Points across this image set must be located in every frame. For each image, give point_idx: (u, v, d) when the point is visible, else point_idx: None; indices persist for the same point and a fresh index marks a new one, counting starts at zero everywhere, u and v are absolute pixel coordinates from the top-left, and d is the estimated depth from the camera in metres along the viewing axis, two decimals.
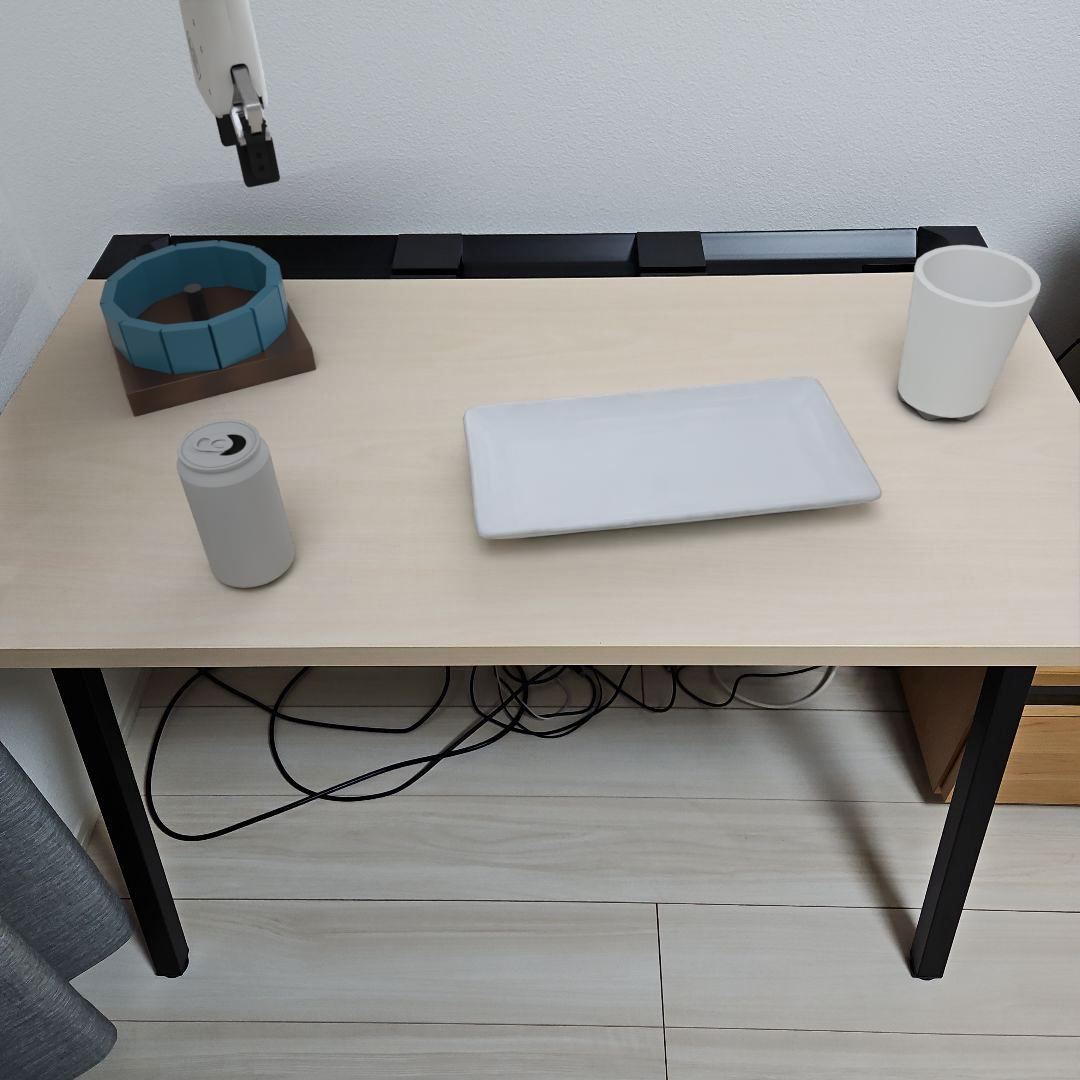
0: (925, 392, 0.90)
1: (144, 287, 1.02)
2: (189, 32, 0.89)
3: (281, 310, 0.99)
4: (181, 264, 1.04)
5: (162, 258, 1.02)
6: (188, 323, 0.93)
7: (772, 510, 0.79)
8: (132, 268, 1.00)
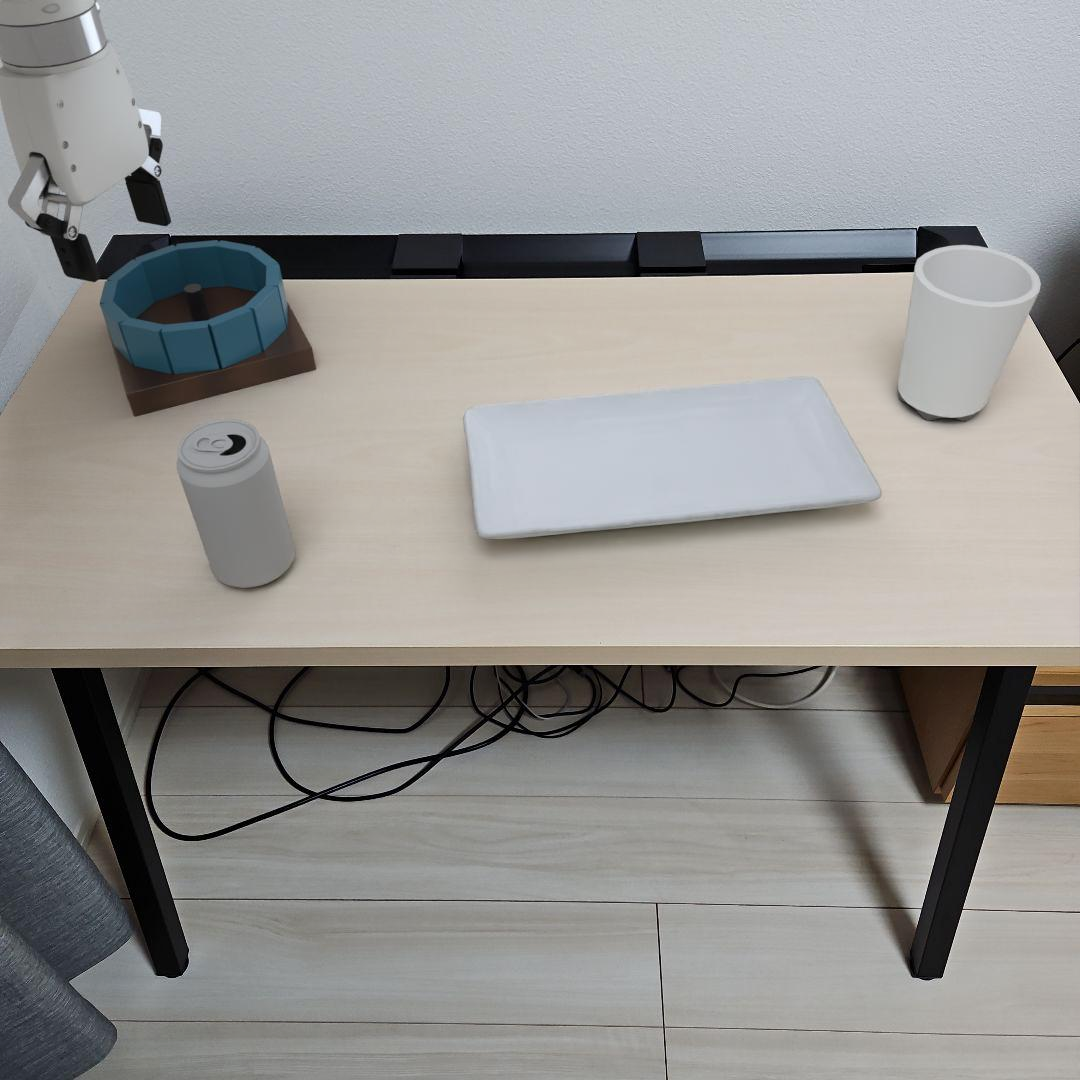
0: (925, 392, 0.90)
1: (144, 287, 1.02)
2: None
3: (281, 310, 0.99)
4: (181, 264, 1.04)
5: (162, 258, 1.02)
6: (188, 323, 0.93)
7: (772, 510, 0.79)
8: (132, 268, 1.00)
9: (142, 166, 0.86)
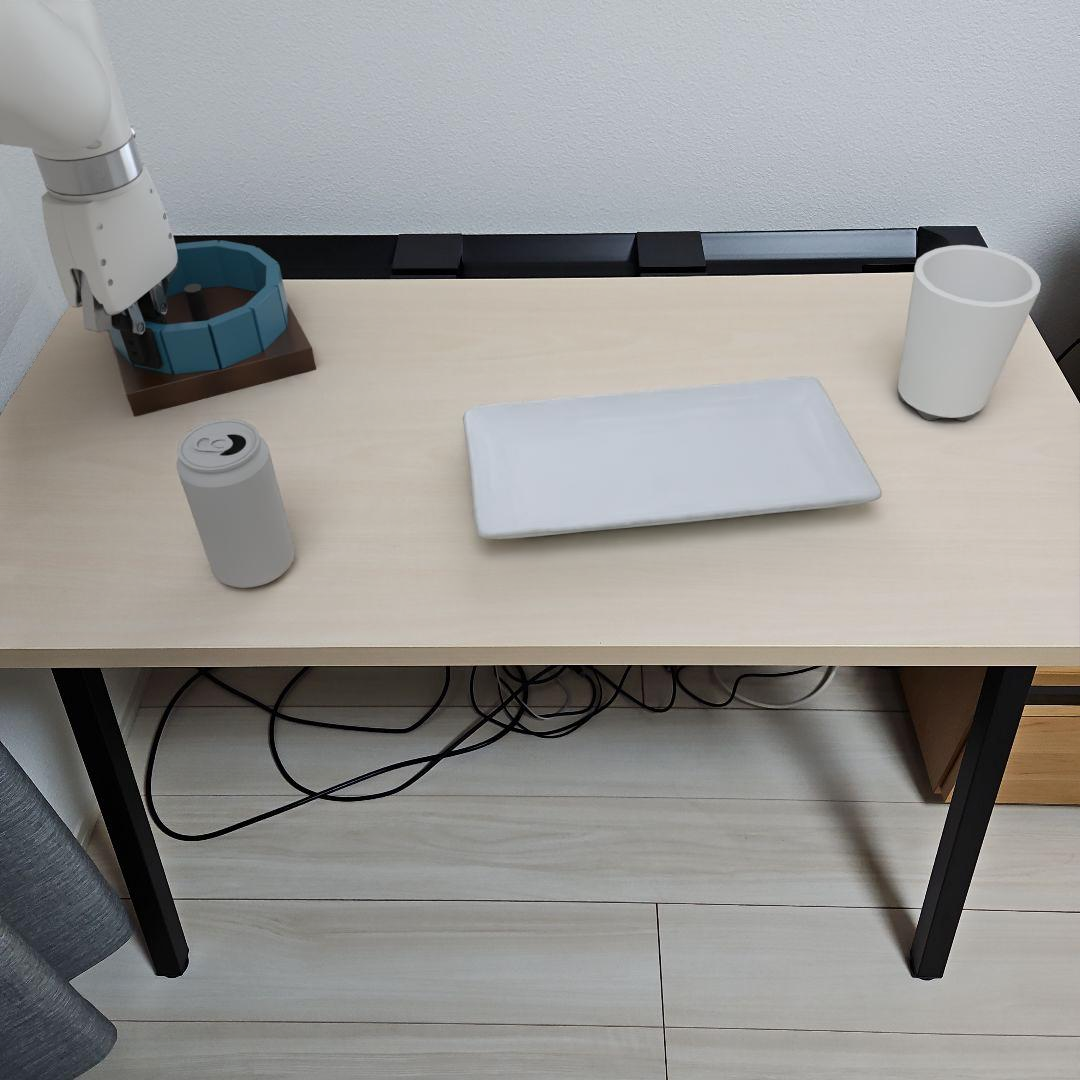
0: (925, 392, 0.90)
1: None
2: None
3: (281, 310, 0.99)
4: (181, 264, 1.04)
5: None
6: (188, 323, 0.93)
7: (772, 510, 0.79)
8: None
9: (155, 291, 0.91)
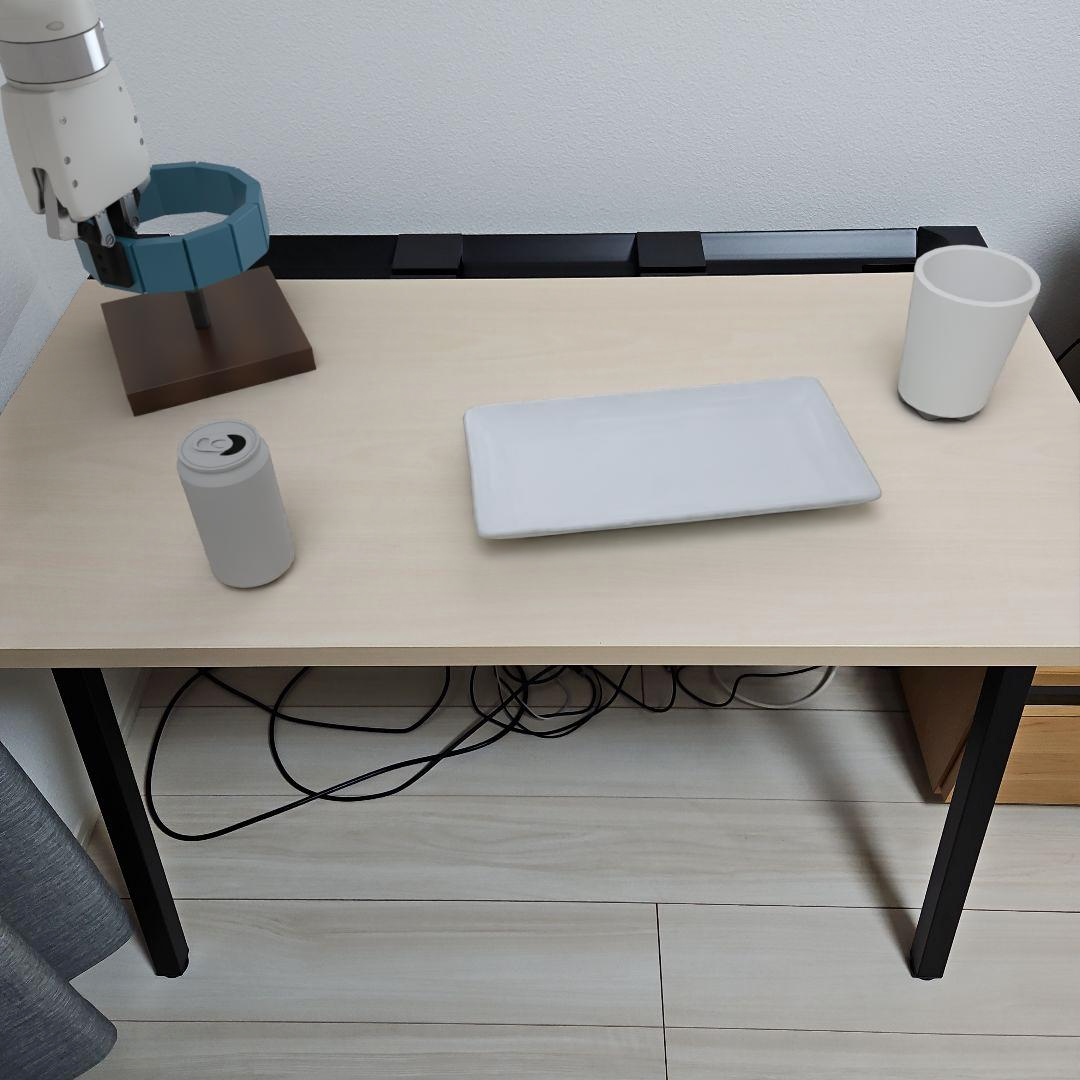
0: (925, 392, 0.90)
1: None
2: None
3: (262, 230, 0.93)
4: (157, 187, 0.98)
5: None
6: (161, 238, 0.87)
7: (772, 510, 0.79)
8: None
9: (125, 202, 0.85)
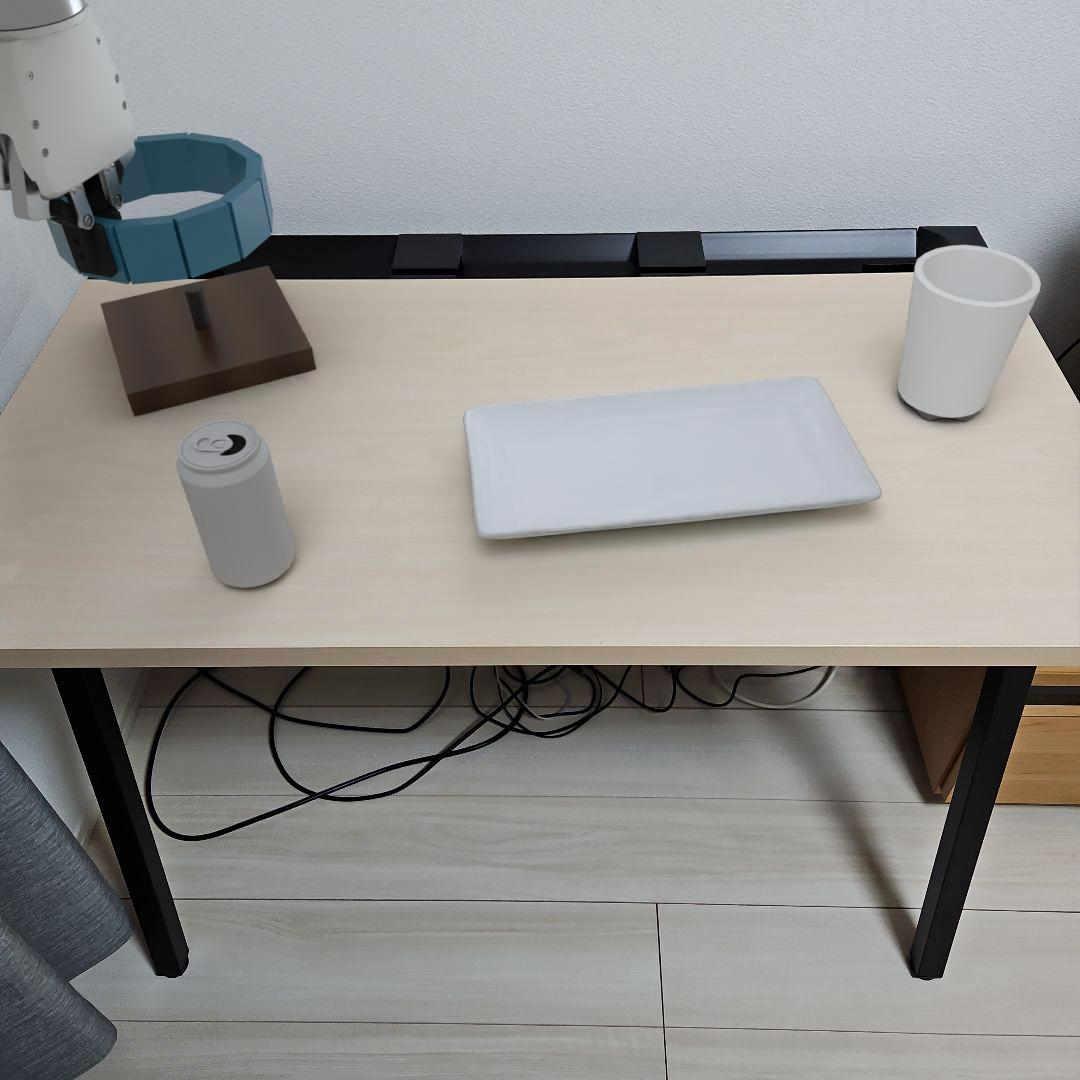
0: (925, 392, 0.90)
1: None
2: None
3: (265, 210, 0.81)
4: (143, 162, 0.86)
5: None
6: (148, 218, 0.75)
7: (772, 510, 0.79)
8: None
9: (106, 176, 0.73)
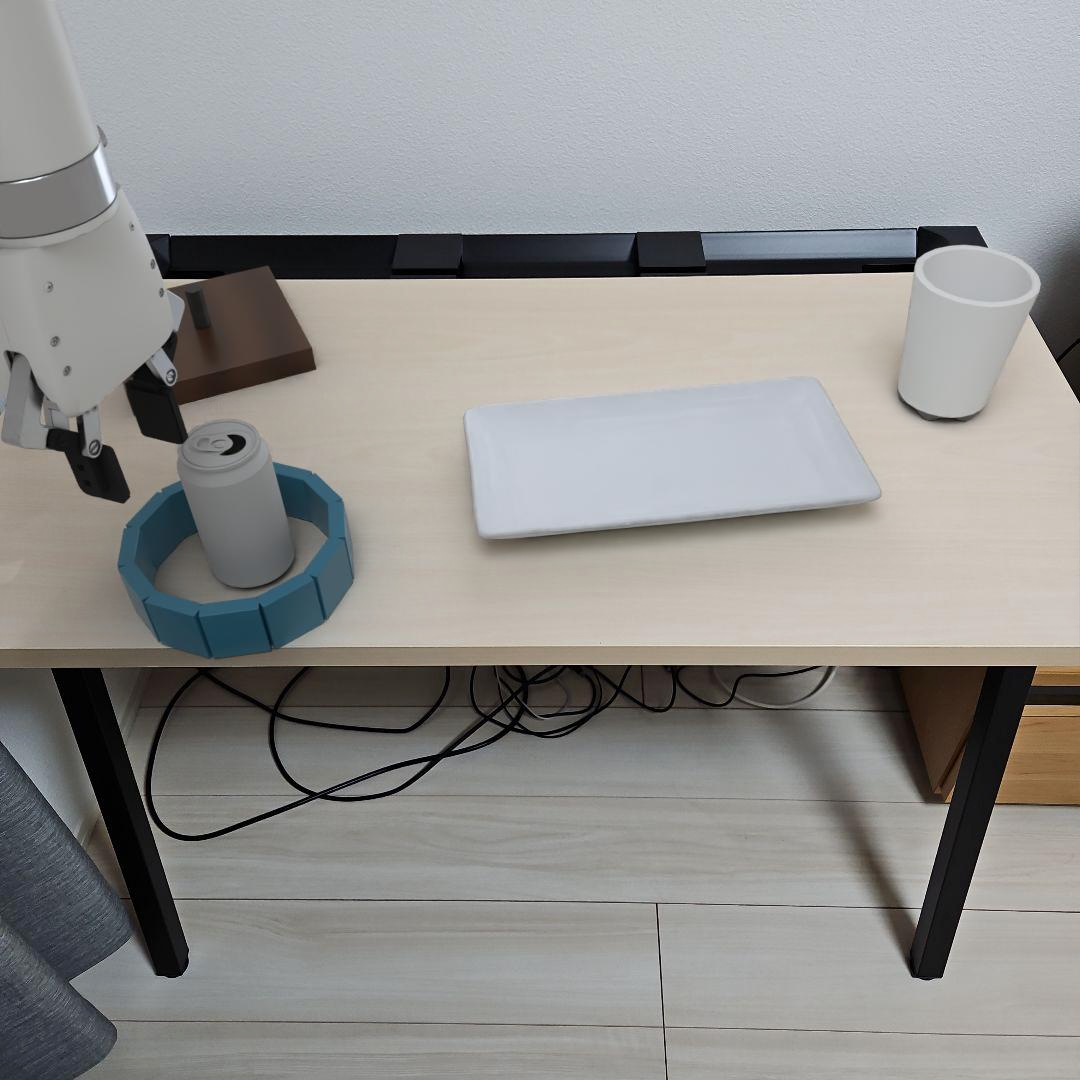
0: (925, 392, 0.90)
1: (172, 524, 0.81)
2: None
3: (348, 564, 0.78)
4: None
5: None
6: (233, 602, 0.72)
7: (772, 510, 0.79)
8: (158, 507, 0.79)
9: (153, 363, 0.62)
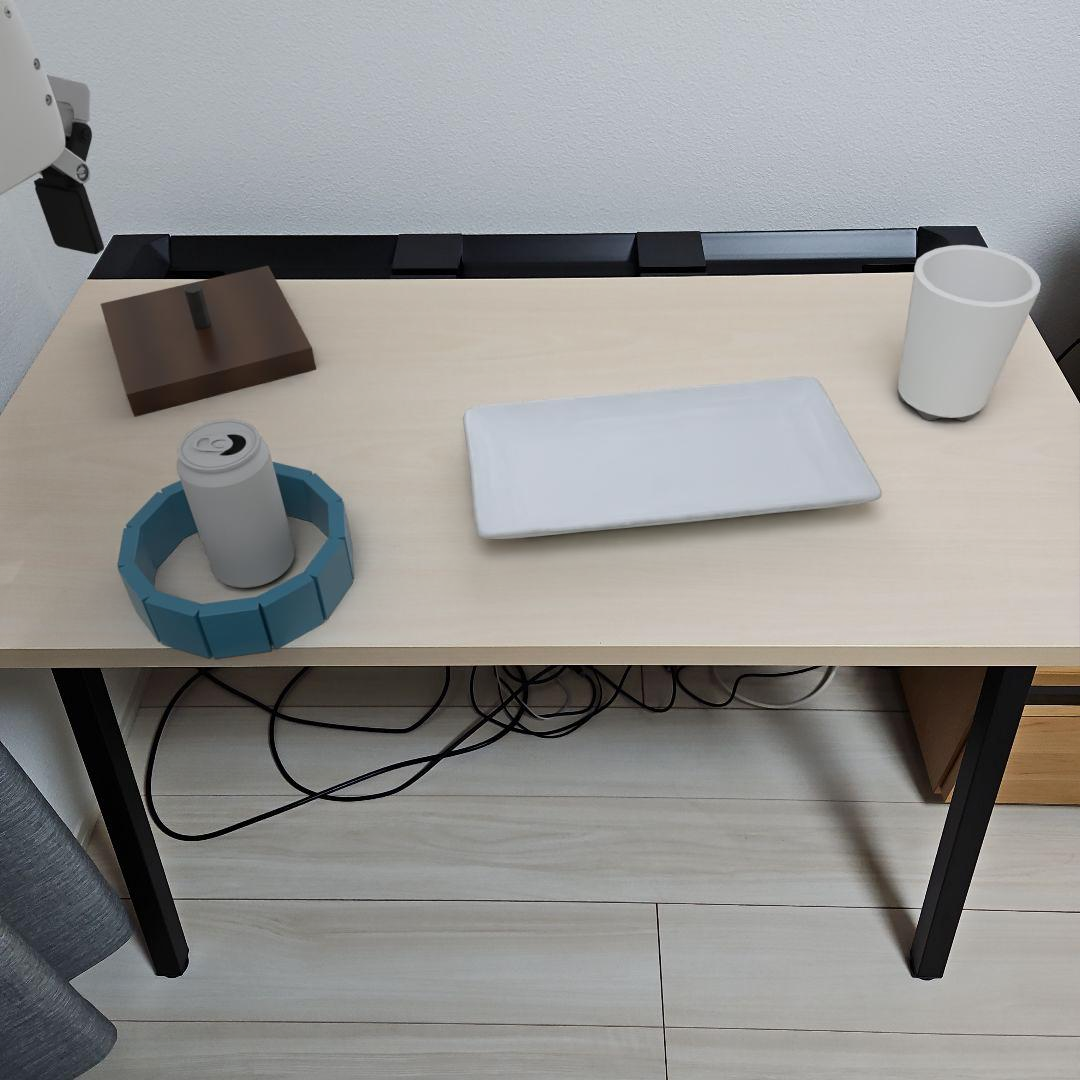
0: (925, 392, 0.90)
1: (172, 524, 0.81)
2: None
3: (348, 564, 0.78)
4: None
5: None
6: (233, 602, 0.72)
7: (772, 510, 0.79)
8: (158, 507, 0.79)
9: (56, 164, 0.57)
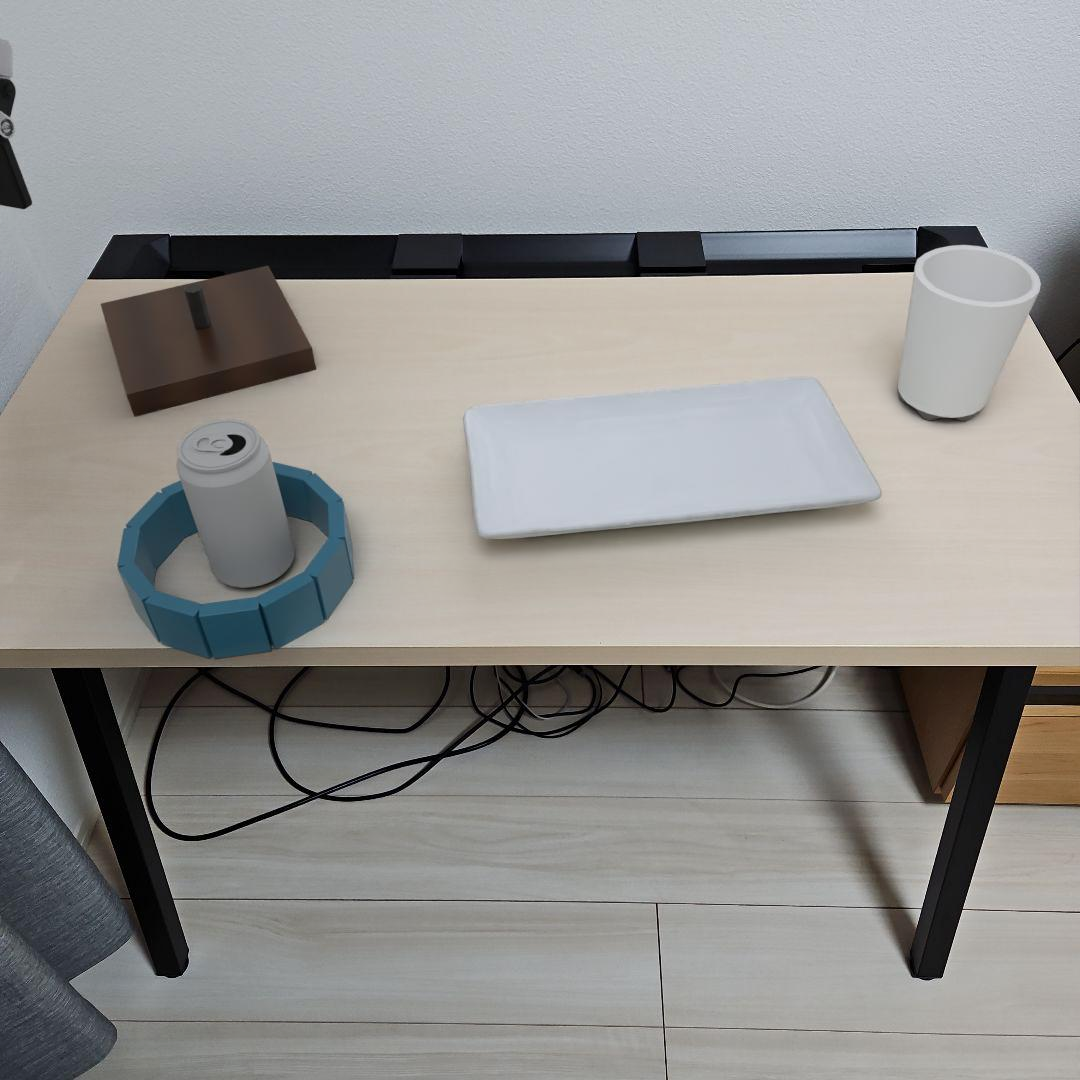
0: (925, 392, 0.90)
1: (172, 524, 0.81)
2: None
3: (348, 564, 0.78)
4: None
5: None
6: (233, 602, 0.72)
7: (772, 510, 0.79)
8: (158, 507, 0.79)
9: None
